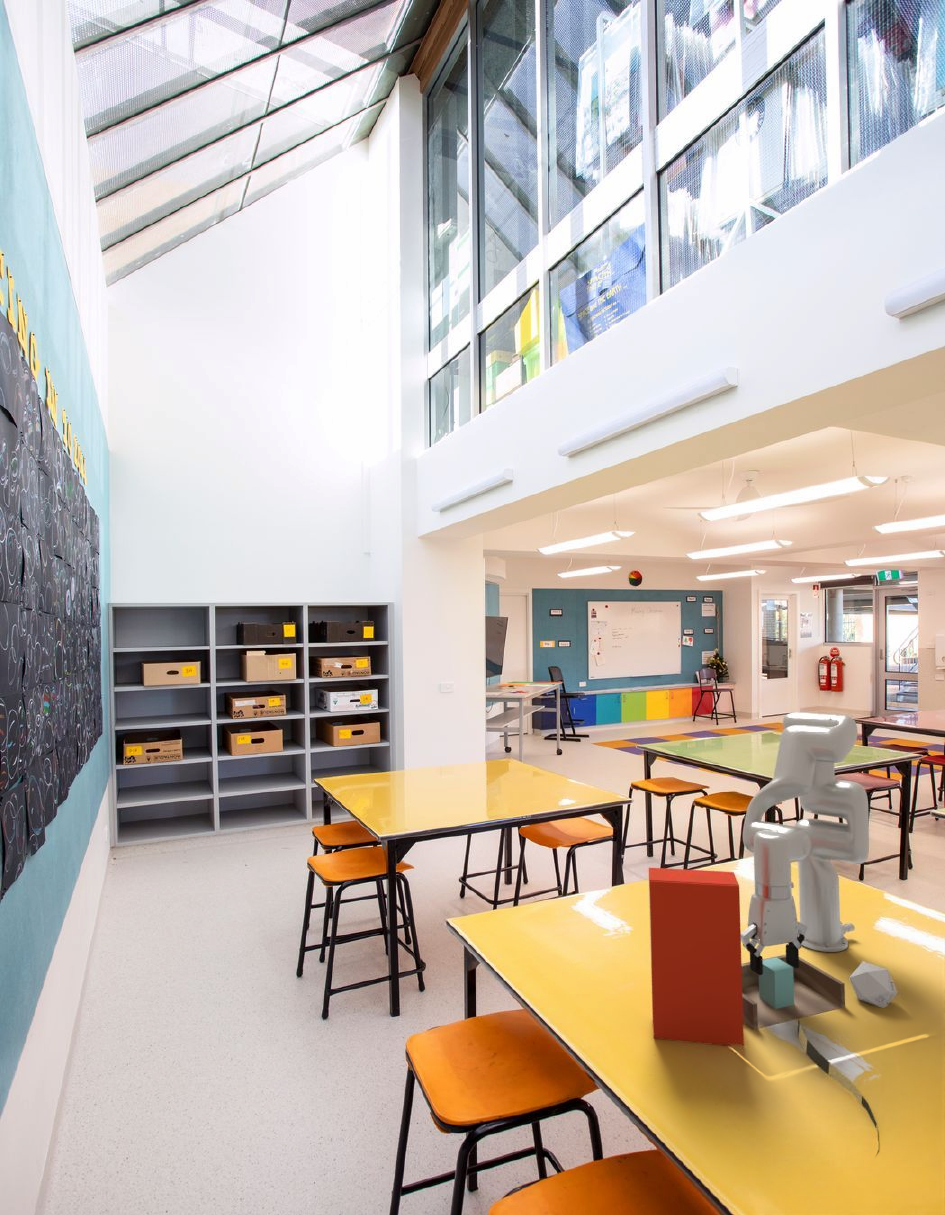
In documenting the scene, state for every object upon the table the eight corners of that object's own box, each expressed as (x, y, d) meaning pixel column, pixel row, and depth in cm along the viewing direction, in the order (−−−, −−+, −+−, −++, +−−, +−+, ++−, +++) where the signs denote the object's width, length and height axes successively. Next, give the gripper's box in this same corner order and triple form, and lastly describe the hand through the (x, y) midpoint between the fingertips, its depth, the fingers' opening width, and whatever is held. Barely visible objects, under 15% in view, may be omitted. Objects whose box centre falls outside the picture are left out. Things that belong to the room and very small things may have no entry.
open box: (793, 977, 166) (792, 953, 166) (845, 1009, 152) (844, 983, 152) (707, 996, 159) (707, 970, 159) (754, 1032, 144) (753, 1004, 144)
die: (868, 1018, 150) (898, 986, 148) (835, 982, 156) (863, 951, 155) (882, 1018, 154) (912, 987, 153) (850, 984, 161) (877, 953, 159)
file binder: (744, 1049, 139) (739, 885, 140) (653, 1039, 143) (649, 880, 143) (737, 1026, 147) (733, 871, 147) (652, 1017, 150) (648, 866, 151)
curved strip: (824, 1038, 143) (824, 1019, 143) (908, 1188, 105) (908, 1161, 105) (793, 1035, 144) (793, 1016, 144) (864, 1182, 106) (864, 1156, 106)
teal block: (777, 993, 158) (776, 957, 158) (794, 1004, 153) (793, 967, 153) (759, 997, 156) (758, 961, 157) (775, 1009, 152) (774, 971, 152)
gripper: (791, 879, 161) (793, 955, 161) (729, 888, 156) (730, 967, 155) (817, 890, 154) (819, 970, 154) (752, 900, 149) (754, 983, 148)
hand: (774, 968), depth 154 cm, fingers open, 9 cm apart
